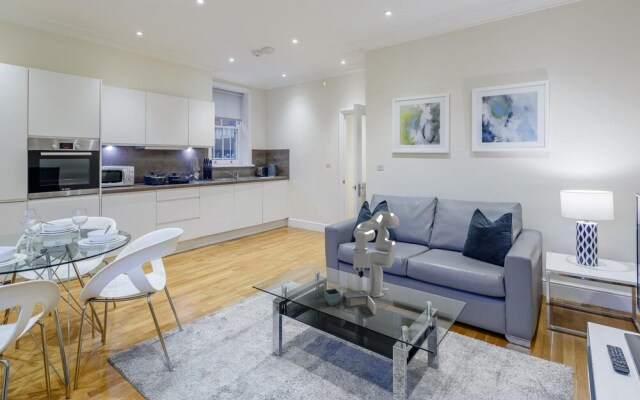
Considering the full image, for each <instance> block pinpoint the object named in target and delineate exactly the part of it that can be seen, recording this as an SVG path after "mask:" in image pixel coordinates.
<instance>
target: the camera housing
mask: <svg viewBox="0 0 640 400" xmlns="http://www.w3.org/2000/svg"><path fill="white" fill-rule="evenodd" d="M368 296H369V295H368V294H367V291H365V290H364V289H362V290H354V291H353V290H351V291H343V292H342V297H341V303H342V304H343V305H344V306H345V308H353V307H354V308H355V307H356V308H357V307H364V306H367V301H368ZM369 297H370V296H369Z"/></svg>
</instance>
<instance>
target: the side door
mask: <svg viewBox="0 0 640 400" xmlns="http://www.w3.org/2000/svg"><path fill="white" fill-rule="evenodd" d="M366 306H367V307H368V308H369V310H370V311H371V312H372V315H376V312H378V306H376V303H375V302H374V301H373V299H372V298H371V296H368V301H367V305H366Z"/></svg>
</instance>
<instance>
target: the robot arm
mask: <svg viewBox="0 0 640 400" xmlns="http://www.w3.org/2000/svg"><path fill="white" fill-rule="evenodd" d="M399 225H400V219H399V217H398V216H397V215H396V214H394V213H393V212H390V211H382V210H381V211H376V213H375V214H374V215H373V216H372V217H371V218H370V219H369V220H366V221H363V222H360V223H359V224H357V226H356V227H355V229H354V230H353V237H354V238H355V246H354V247H355V248H353V249H352V250H353V252H354V253H353V258H352V261H353V262H352V265H353V266H352V269H354V270H357V271H358V276H359V278H364V277H363V276H364V272H365V270H367V269H369V281H368V282H369V283H368V285H369V286H368V288H369V289H368V290H367V291H366V293H367V294H368V295H369V297H373V298H380V297H384V295H385V292H389V288H388V287H387V288H386V287H383V282H384V281H383V277H384V276H383V275H384V271H383V268H387V269H389V268H391V267H393V264H394V260H395V257H396V252H397V243H396V242H395V240H389V239H390V233H389V231H388V229H387V228H389V229H397V228H398V227H399ZM375 231H377V236H376V232H375ZM375 237H376V240H375V242H374V250H375V251H372V252H370V253H369V252H368V242H370V241H373V240H374V239H375Z"/></svg>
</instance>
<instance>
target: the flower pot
mask: <svg viewBox="0 0 640 400" xmlns="http://www.w3.org/2000/svg"><path fill="white" fill-rule="evenodd" d="M323 293H324V294H323V295H324V299H325V301H326V302H327V304H328V305H329V306H330V307H331V306H336V305H338V304H339V302H340V299H341V292H340V291H339V290H338V289H337V288H330V289H325V290H323Z"/></svg>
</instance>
